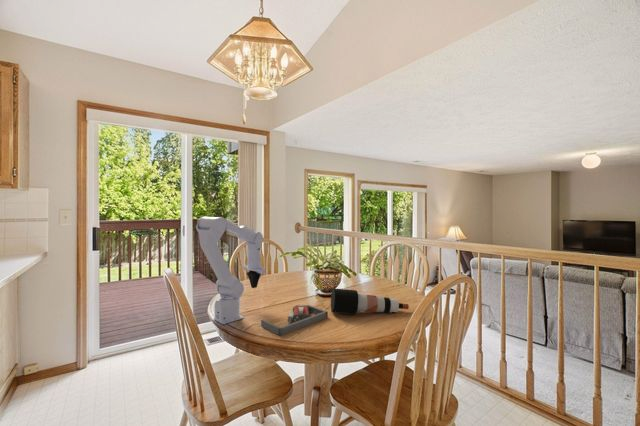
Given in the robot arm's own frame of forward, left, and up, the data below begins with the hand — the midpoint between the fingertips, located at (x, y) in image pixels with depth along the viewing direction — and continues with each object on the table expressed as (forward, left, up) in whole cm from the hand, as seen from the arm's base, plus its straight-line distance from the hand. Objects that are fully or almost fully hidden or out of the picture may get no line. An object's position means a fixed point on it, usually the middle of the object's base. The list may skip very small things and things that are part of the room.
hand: (254, 287), depth 135 cm
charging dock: (+3, -25, -9) cm, 27 cm away
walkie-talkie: (+6, -24, -10) cm, 27 cm away
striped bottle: (+33, -41, -10) cm, 53 cm away
